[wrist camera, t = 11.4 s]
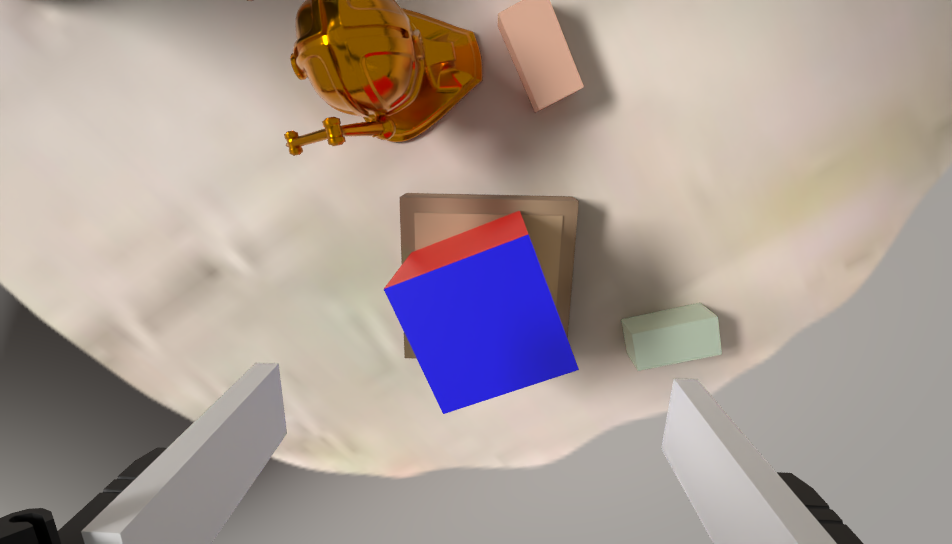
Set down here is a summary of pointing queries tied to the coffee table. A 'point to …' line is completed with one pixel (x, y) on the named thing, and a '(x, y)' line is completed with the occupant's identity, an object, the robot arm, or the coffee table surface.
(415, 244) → the walnut slab
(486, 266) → the cube
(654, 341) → the sage brick
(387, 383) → the coffee table surface
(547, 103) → the terracotta brick
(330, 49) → the figurine
